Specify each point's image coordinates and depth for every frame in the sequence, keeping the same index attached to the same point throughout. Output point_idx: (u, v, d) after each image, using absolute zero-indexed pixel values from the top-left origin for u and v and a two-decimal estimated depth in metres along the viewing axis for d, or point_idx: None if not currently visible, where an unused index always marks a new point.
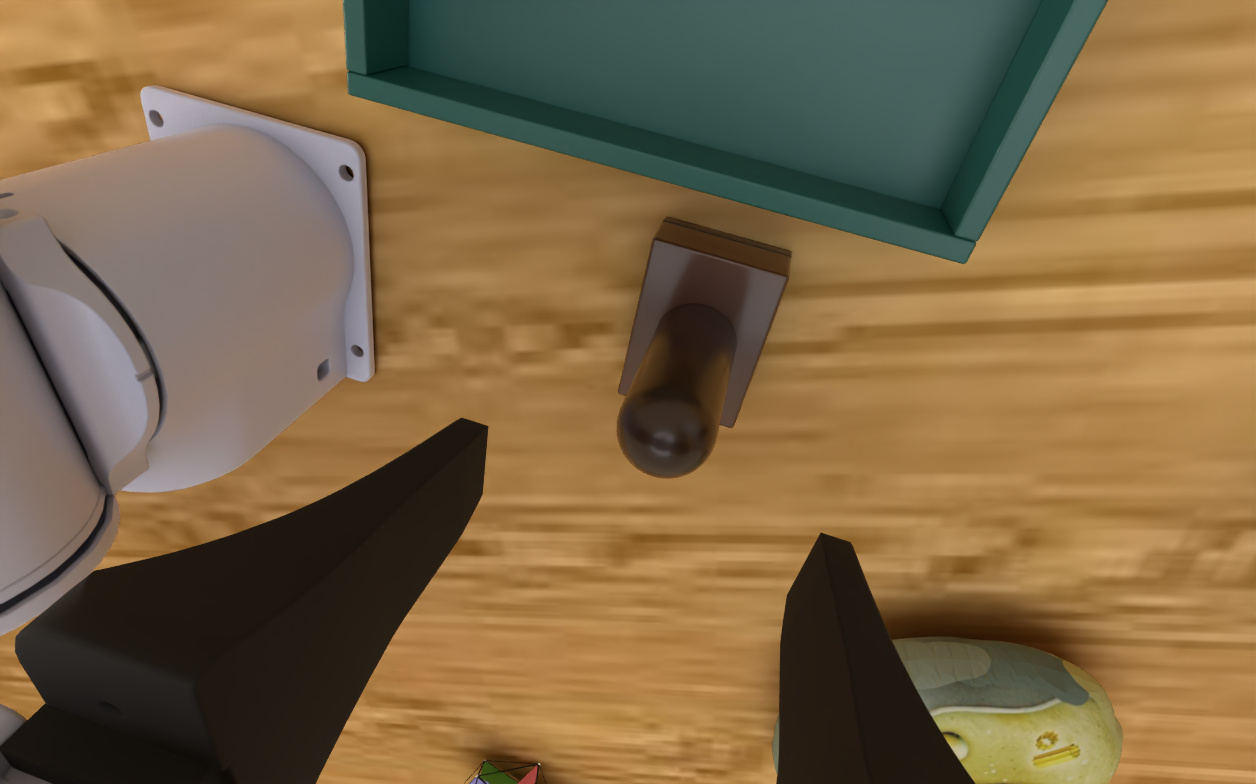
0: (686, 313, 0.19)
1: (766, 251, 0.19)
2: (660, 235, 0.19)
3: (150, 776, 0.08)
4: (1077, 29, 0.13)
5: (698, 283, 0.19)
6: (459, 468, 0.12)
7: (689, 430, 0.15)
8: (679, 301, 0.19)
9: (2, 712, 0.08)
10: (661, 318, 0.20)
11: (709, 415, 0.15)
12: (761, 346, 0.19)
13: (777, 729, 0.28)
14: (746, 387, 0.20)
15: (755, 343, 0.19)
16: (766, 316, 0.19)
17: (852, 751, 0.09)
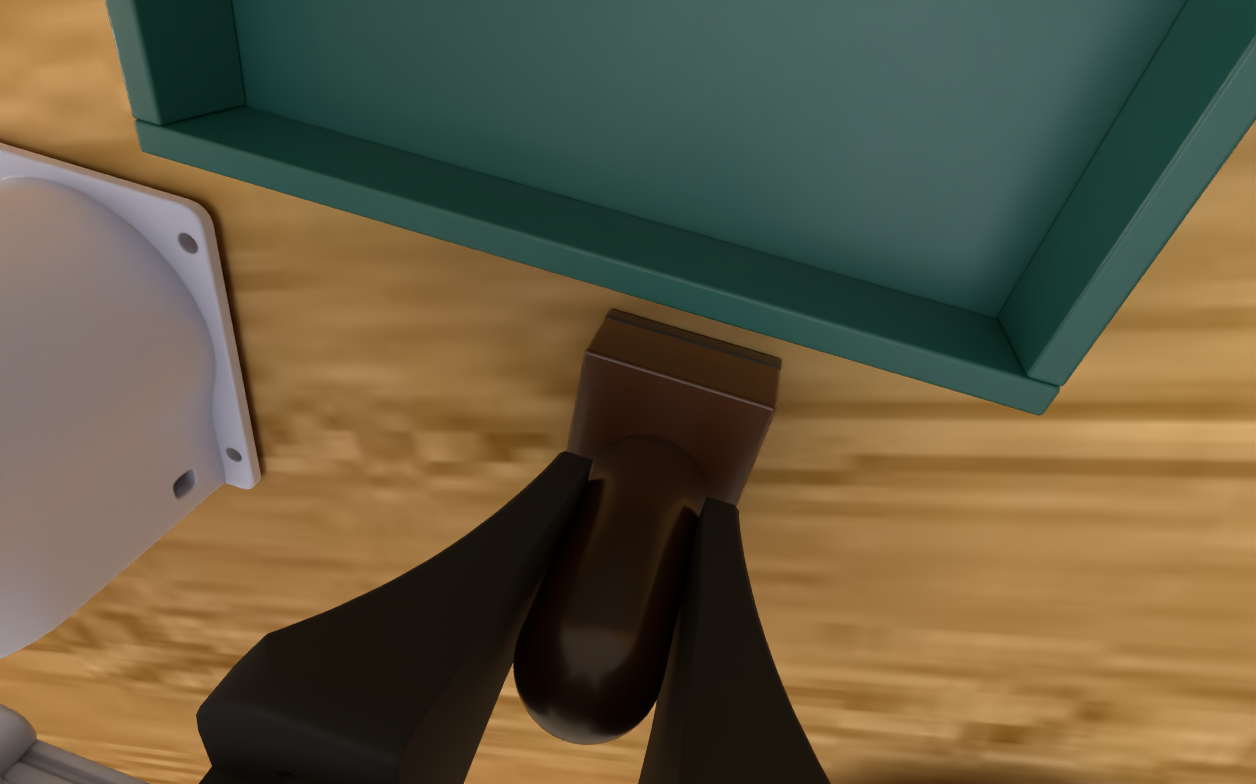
0: (632, 455, 0.13)
1: (746, 362, 0.14)
2: (596, 344, 0.13)
3: None
4: None
5: (650, 410, 0.13)
6: (571, 505, 0.12)
7: (616, 689, 0.10)
8: (625, 431, 0.14)
9: (2, 712, 0.08)
10: (602, 451, 0.14)
11: (650, 656, 0.10)
12: (739, 492, 0.14)
13: None
14: None
15: (731, 488, 0.14)
16: (745, 456, 0.13)
17: (683, 692, 0.09)
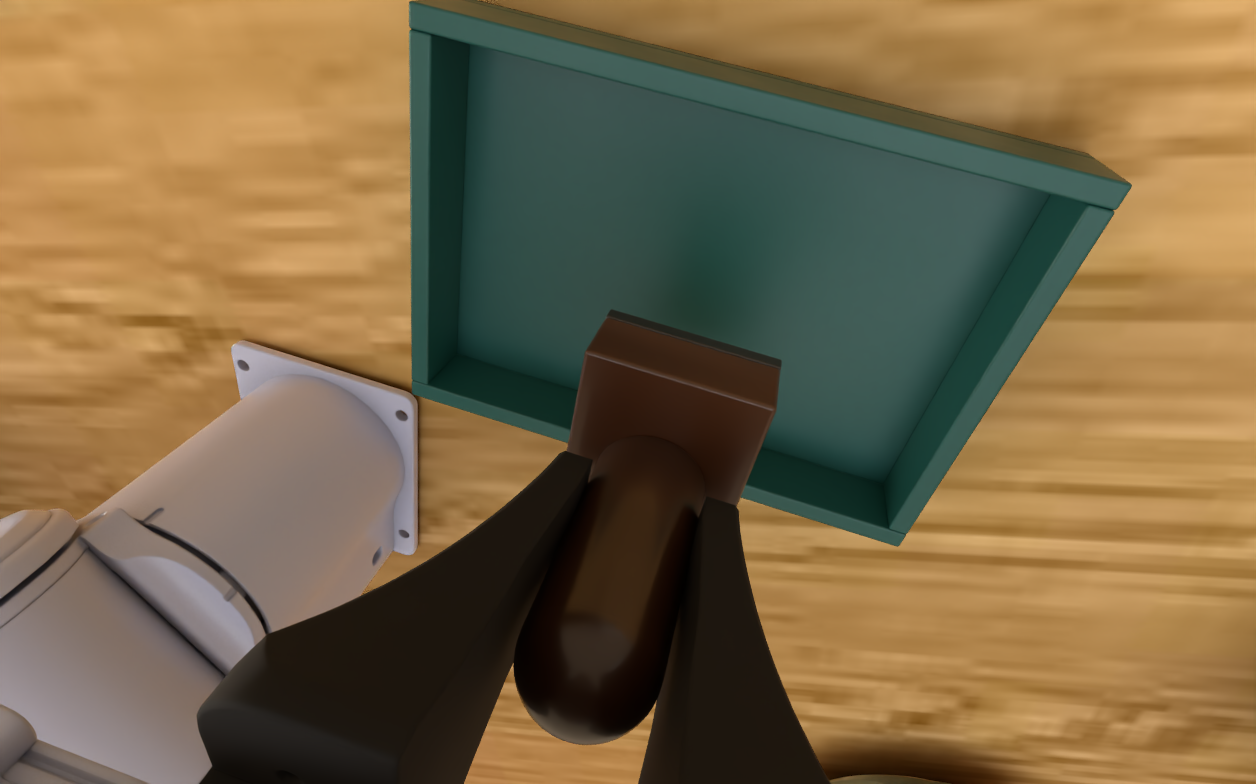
0: (633, 455, 0.13)
1: (746, 362, 0.14)
2: (596, 344, 0.13)
3: None
4: (969, 419, 0.18)
5: (650, 410, 0.13)
6: (571, 505, 0.12)
7: (616, 689, 0.10)
8: (626, 431, 0.14)
9: (2, 712, 0.08)
10: (602, 451, 0.14)
11: (650, 656, 0.10)
12: (739, 492, 0.14)
13: None
14: None
15: (731, 488, 0.14)
16: (745, 456, 0.14)
17: (683, 692, 0.09)
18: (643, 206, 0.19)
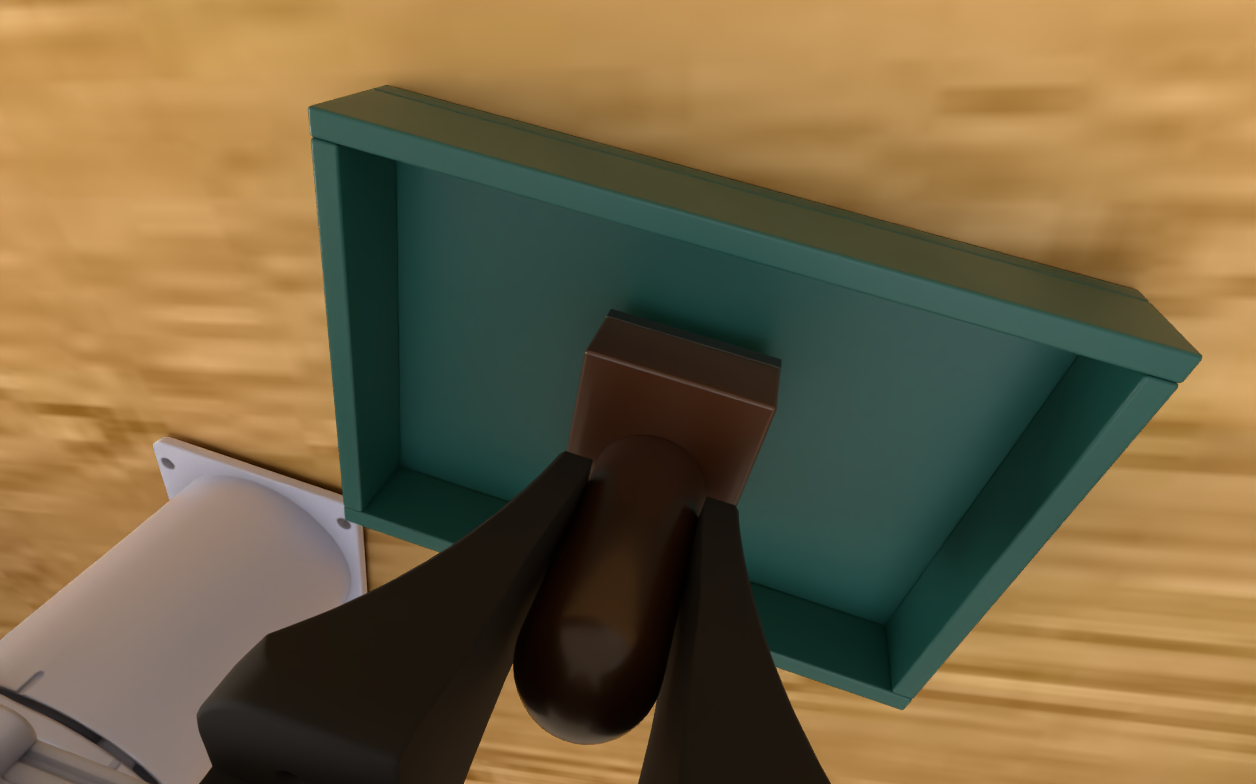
0: (632, 454, 0.13)
1: (746, 361, 0.14)
2: (596, 344, 0.13)
3: None
4: (989, 591, 0.15)
5: (650, 410, 0.13)
6: (571, 505, 0.12)
7: (616, 689, 0.10)
8: (625, 431, 0.14)
9: (2, 712, 0.08)
10: (602, 451, 0.14)
11: (650, 656, 0.10)
12: (739, 492, 0.14)
13: None
14: None
15: (731, 488, 0.14)
16: (745, 456, 0.13)
17: (683, 693, 0.09)
18: None
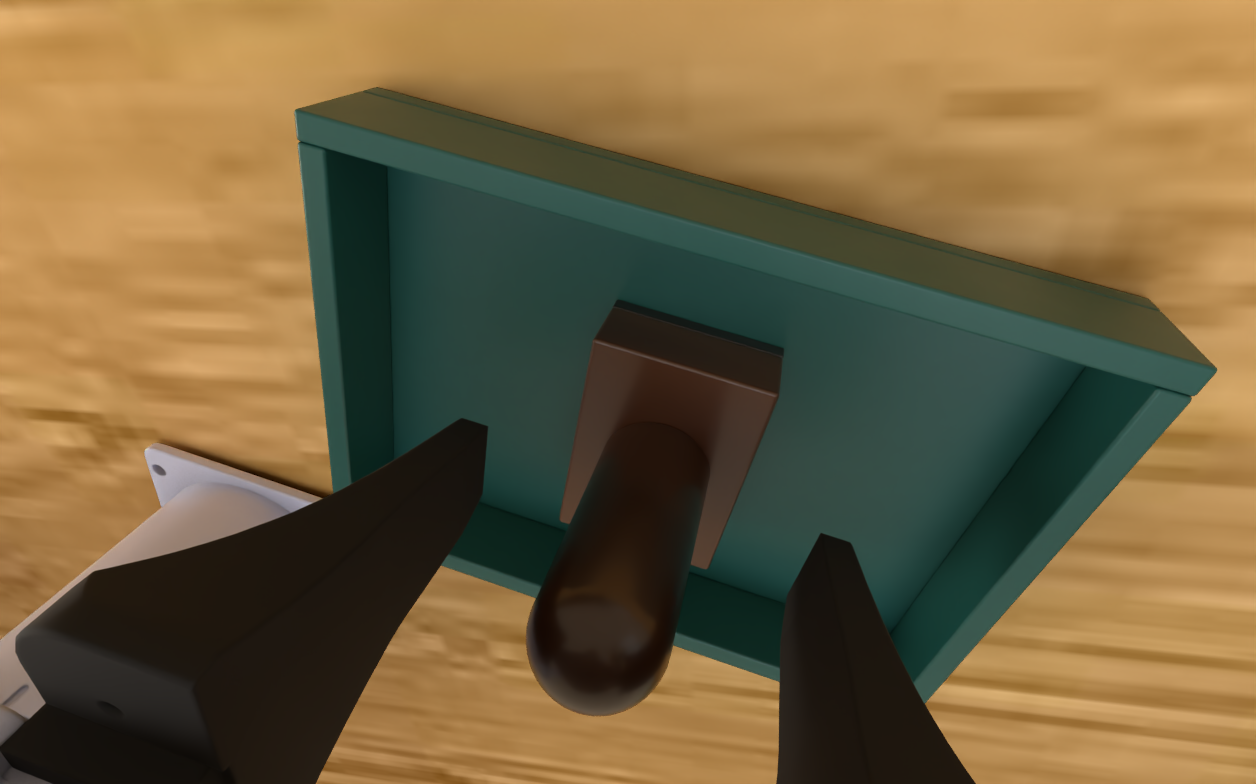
0: (639, 440, 0.14)
1: (749, 350, 0.14)
2: (604, 333, 0.14)
3: (150, 776, 0.08)
4: (995, 606, 0.14)
5: (656, 397, 0.14)
6: (459, 468, 0.12)
7: (626, 661, 0.10)
8: (632, 418, 0.14)
9: (2, 712, 0.08)
10: (609, 438, 0.15)
11: (658, 630, 0.10)
12: (743, 477, 0.14)
13: None
14: (724, 524, 0.15)
15: (735, 473, 0.14)
16: (749, 442, 0.14)
17: (852, 751, 0.09)
18: None
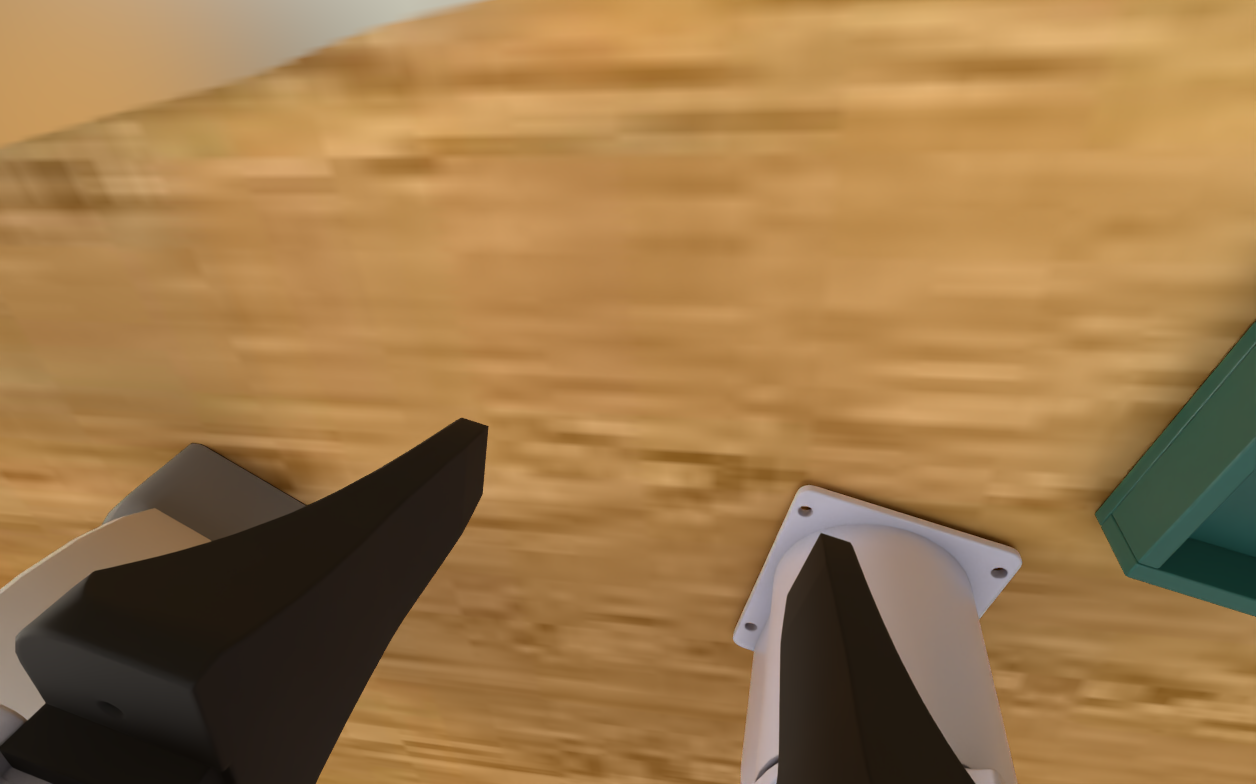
0: None
1: None
2: None
3: (150, 776, 0.08)
4: None
5: None
6: (459, 468, 0.12)
7: None
8: None
9: (2, 712, 0.08)
10: None
11: None
12: None
13: None
14: None
15: None
16: None
17: (852, 751, 0.09)
18: None
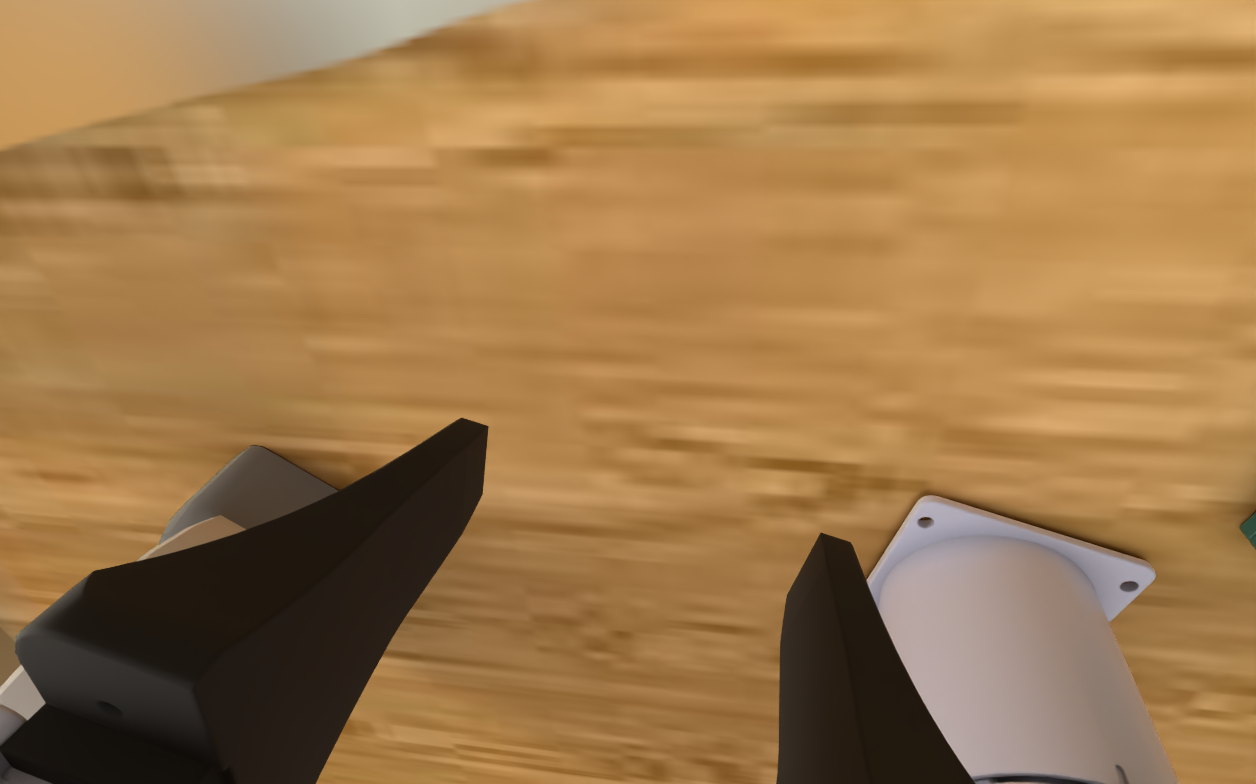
0: None
1: None
2: None
3: (150, 776, 0.08)
4: None
5: None
6: (459, 468, 0.12)
7: None
8: None
9: (2, 712, 0.08)
10: None
11: None
12: None
13: None
14: None
15: None
16: None
17: (852, 751, 0.09)
18: None
